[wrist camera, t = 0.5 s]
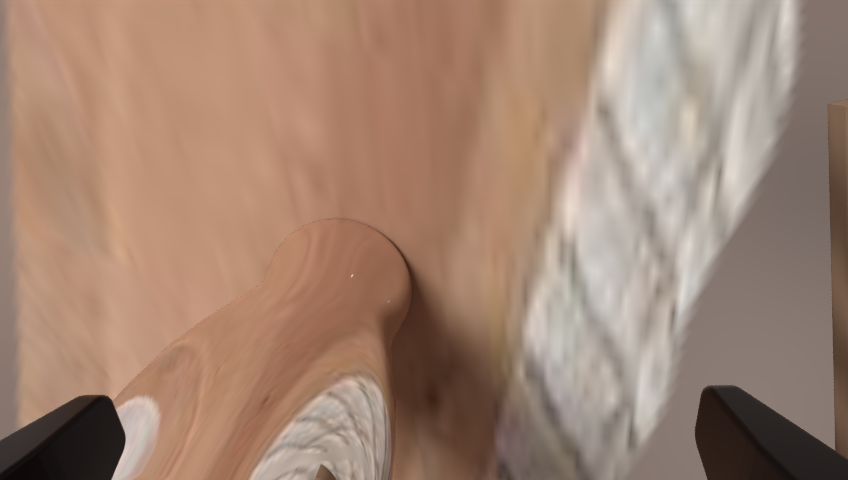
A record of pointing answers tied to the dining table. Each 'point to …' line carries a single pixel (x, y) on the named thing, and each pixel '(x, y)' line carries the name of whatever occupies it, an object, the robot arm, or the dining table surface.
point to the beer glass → (280, 372)
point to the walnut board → (839, 264)
